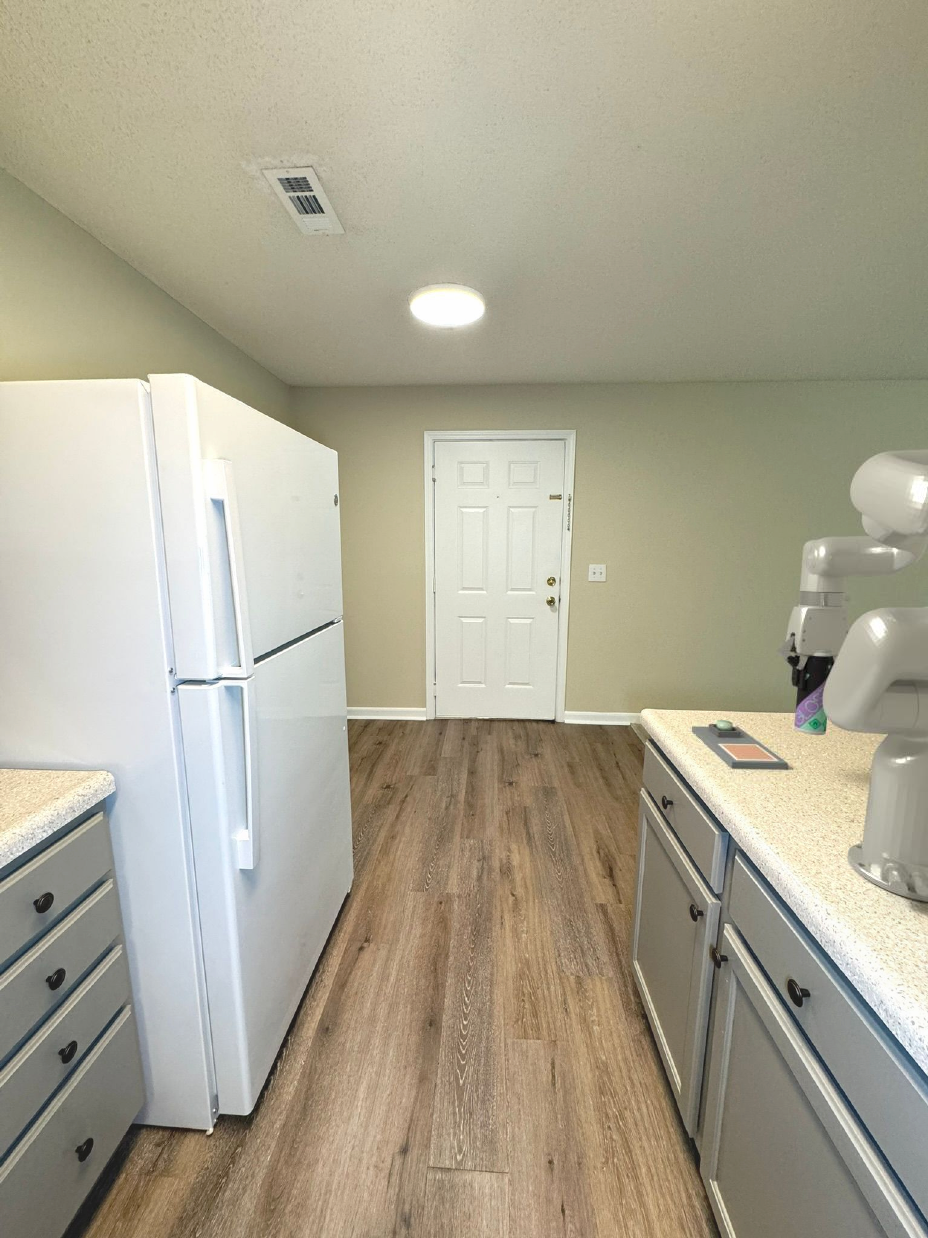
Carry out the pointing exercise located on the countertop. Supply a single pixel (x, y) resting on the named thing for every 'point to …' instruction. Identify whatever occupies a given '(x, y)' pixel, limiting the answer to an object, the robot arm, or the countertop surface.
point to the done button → (724, 725)
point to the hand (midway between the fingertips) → (813, 686)
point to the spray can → (813, 695)
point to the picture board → (738, 748)
